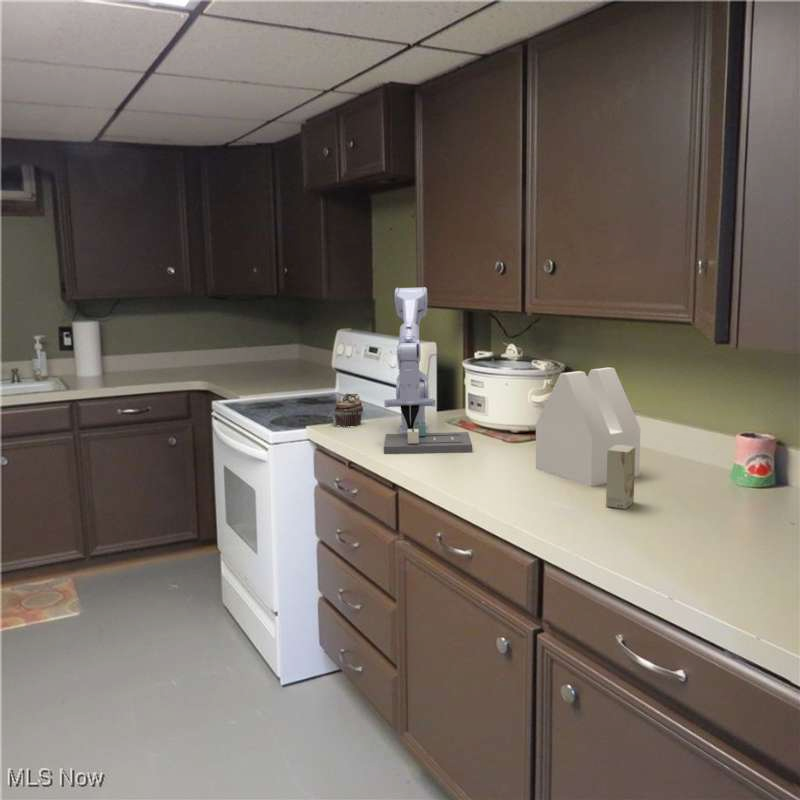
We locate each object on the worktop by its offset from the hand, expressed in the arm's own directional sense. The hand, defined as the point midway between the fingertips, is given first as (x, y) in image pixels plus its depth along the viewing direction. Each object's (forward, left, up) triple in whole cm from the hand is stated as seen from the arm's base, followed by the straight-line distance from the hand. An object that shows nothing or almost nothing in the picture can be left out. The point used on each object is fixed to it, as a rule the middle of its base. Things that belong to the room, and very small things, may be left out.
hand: (410, 431), depth 222 cm
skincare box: (+60, +44, -4) cm, 74 cm away
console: (+5, +5, -3) cm, 7 cm away
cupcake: (-27, -20, -4) cm, 34 cm away
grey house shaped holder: (+35, +43, -4) cm, 55 cm away
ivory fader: (+9, +1, -1) cm, 9 cm away
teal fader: (0, +3, -1) cm, 3 cm away
